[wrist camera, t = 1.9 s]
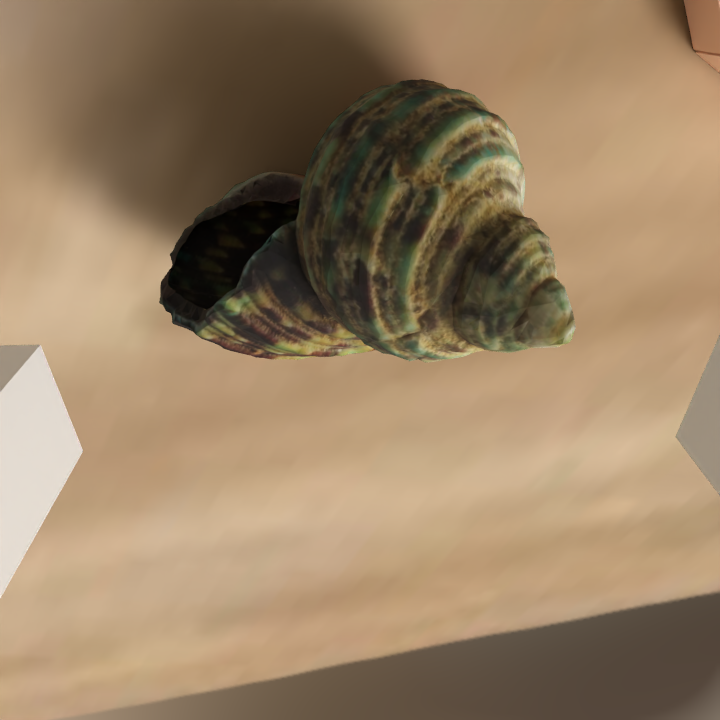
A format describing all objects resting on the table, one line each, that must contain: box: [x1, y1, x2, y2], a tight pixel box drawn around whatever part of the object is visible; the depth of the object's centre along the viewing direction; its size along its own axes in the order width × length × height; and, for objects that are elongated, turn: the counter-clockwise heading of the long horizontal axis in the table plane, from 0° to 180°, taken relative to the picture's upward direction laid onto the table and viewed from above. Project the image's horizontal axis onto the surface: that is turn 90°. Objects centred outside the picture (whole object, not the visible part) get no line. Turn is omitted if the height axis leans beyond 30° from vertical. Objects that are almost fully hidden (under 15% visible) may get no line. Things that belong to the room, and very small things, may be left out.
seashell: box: [159, 80, 576, 362], centre depth 18 cm, size 11×11×10 cm
